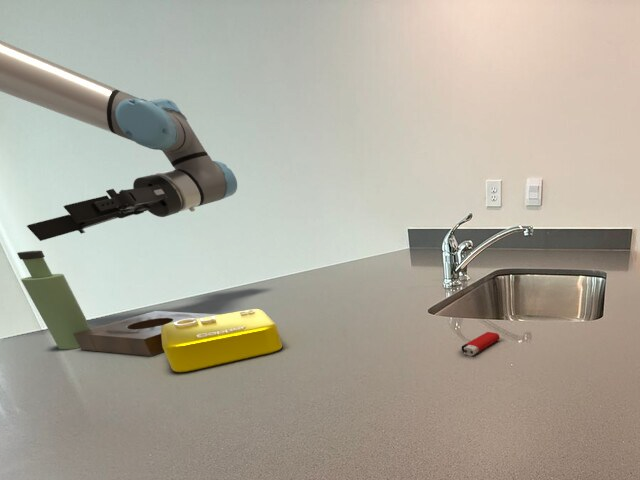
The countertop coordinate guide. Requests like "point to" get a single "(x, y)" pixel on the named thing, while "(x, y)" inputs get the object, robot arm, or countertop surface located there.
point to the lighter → (479, 343)
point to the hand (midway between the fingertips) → (51, 224)
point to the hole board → (132, 333)
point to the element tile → (219, 339)
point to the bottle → (53, 300)
